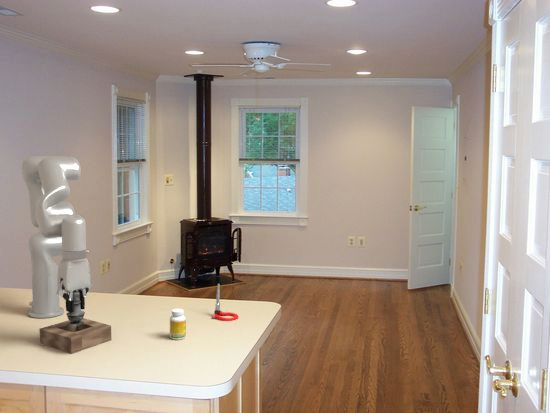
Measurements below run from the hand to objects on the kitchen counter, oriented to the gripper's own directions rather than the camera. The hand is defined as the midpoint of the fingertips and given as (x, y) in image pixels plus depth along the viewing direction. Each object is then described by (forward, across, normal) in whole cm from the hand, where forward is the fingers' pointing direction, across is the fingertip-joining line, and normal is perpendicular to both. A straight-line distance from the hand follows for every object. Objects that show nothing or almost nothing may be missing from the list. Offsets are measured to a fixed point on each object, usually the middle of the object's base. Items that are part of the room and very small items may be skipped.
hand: (75, 309), depth 197 cm
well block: (+11, 0, 0) cm, 11 cm away
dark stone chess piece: (+5, 0, 0) cm, 5 cm away
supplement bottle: (+11, -23, +24) cm, 35 cm away
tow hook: (+11, -51, +23) cm, 57 cm away
